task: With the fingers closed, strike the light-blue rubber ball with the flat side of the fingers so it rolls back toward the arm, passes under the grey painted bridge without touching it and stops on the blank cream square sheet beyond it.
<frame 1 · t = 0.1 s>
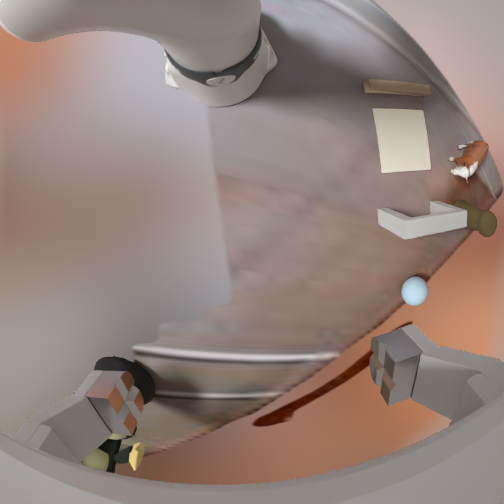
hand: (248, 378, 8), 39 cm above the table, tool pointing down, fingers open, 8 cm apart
stopper: (394, 89, 38), on the table
ball: (414, 291, 48), on the table
bull figurine: (454, 158, 42), on the table
candelabra: (126, 382, 59), on the table
bridge: (410, 211, 46), on the table
blank cream square sheet: (404, 139, 41), on the table
olive tall rounded piece: (459, 212, 46), on the table
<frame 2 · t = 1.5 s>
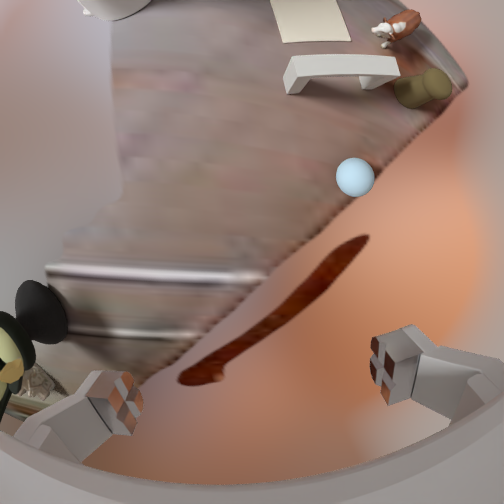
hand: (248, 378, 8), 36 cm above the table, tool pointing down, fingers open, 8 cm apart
ball: (355, 177, 38), on the table
bull figurine: (385, 36, 32), on the table
candelabra: (46, 316, 50), on the table
bridge: (330, 82, 36), on the table
blank cream square sheet: (309, 14, 31), on the table
ceramic cottage: (35, 373, 58), on the table
olive tall rounded piece: (407, 93, 36), on the table
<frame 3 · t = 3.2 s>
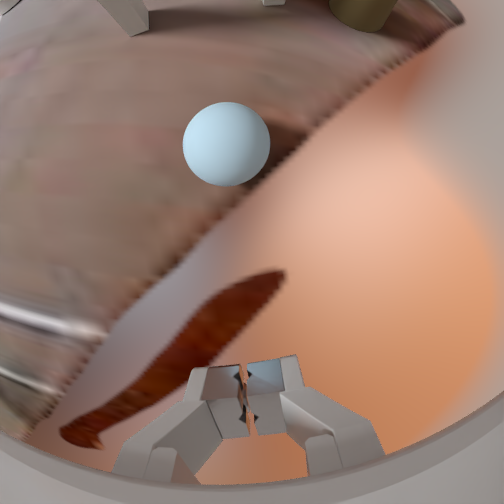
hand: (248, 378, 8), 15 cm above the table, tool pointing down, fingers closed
ball: (226, 143, 18), on the table
bridge: (203, 4, 17), on the table
olive tall rounded piece: (356, 11, 17), on the table
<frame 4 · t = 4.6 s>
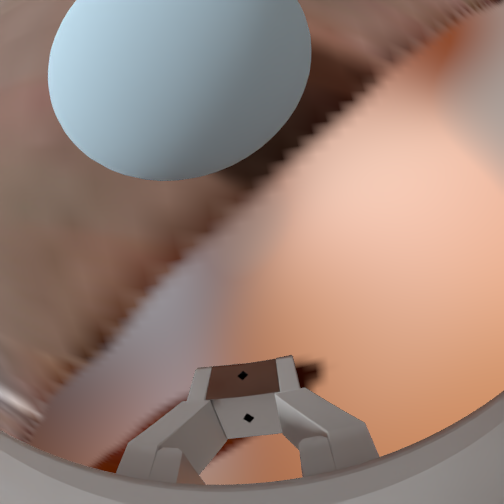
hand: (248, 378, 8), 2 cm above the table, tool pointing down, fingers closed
ball: (177, 58, 5), on the table
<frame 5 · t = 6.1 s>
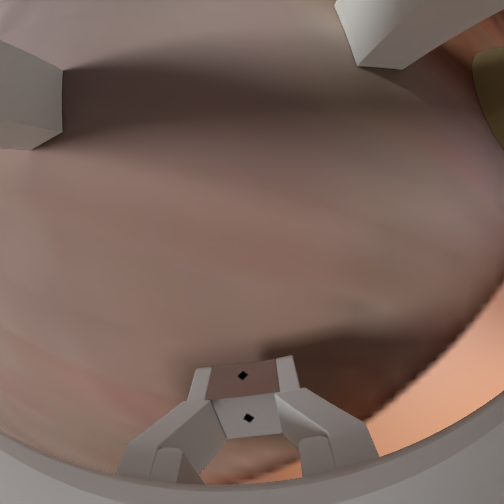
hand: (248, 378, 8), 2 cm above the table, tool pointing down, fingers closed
bridge: (191, 47, 7), on the table
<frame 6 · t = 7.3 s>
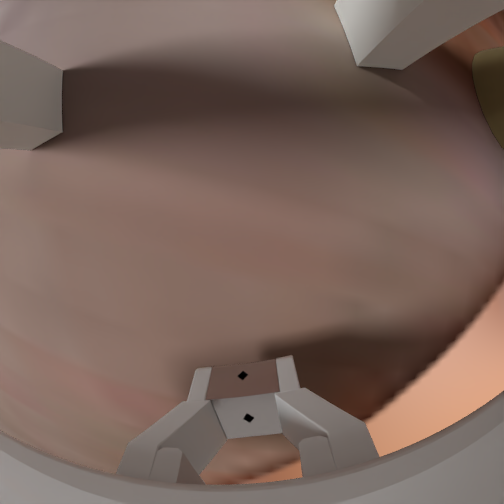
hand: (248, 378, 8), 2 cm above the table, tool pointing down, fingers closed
bridge: (191, 47, 7), on the table
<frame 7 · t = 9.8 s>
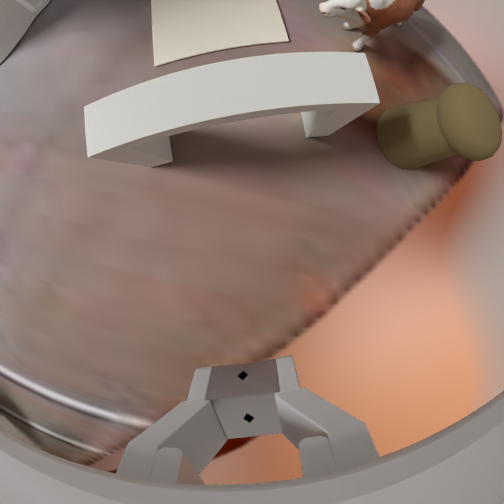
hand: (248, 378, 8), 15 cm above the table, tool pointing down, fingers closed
bull figurine: (362, 29, 18), on the table
bridge: (235, 130, 20), on the table
blank cream square sheet: (212, 6, 17), on the table
olive tall rounded piece: (403, 138, 20), on the table
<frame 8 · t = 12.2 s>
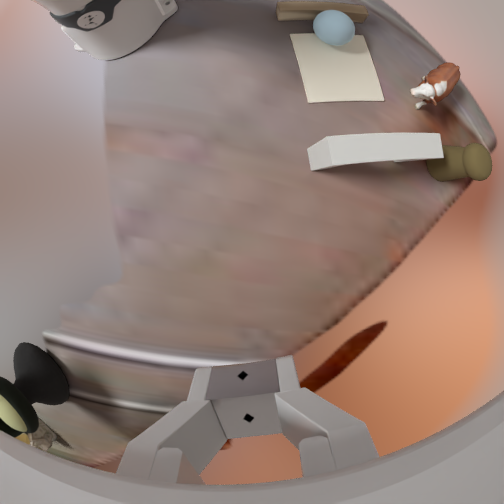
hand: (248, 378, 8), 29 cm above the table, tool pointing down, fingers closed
stopper: (320, 15, 28), on the table
ball: (334, 27, 26), on the table
bull figurine: (419, 92, 31), on the table
candelabra: (46, 377, 44), on the table
bridge: (359, 154, 34), on the table
blank cream square sheet: (338, 65, 31), on the table
ceramic cottage: (36, 424, 50), on the table
olive tall rounded piece: (438, 163, 34), on the table
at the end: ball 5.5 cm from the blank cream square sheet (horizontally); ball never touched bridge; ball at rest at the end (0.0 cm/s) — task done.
